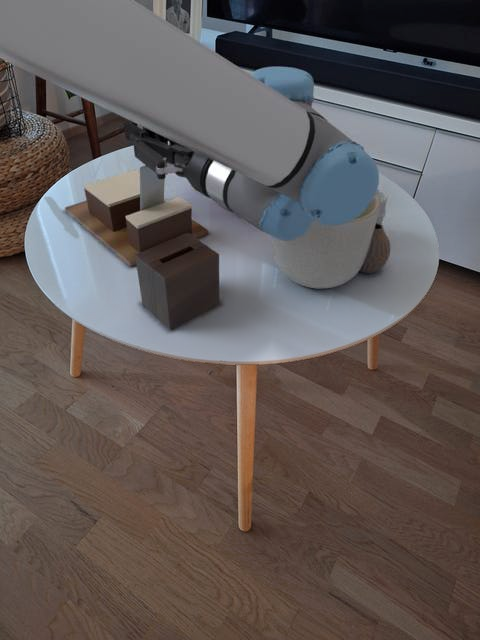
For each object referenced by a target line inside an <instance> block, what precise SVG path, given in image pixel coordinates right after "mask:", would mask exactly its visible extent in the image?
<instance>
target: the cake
mask: <svg viewBox="0 0 480 640" xmlns="http://www.w3.org/2000/svg"><path fill="white" fill-rule="evenodd" d="M83 189H84V195H85V201H86V200H87V204H88V209H89V212H90V213H91V214H92V215H93V216H95V217H96V218H97V219H98V220H100V221H101V222H102V223H103V224H104V225H106V226H107V227H108V228H109V229H111V230H112V231H113V232H115V231H117V230H120V229H123V228H125V227H127V224H126V216H127V215H130V214H133V213H136V212H139V211H140V171H138V170H136V169H132V170H128V171H126V172H122V173H119V174H116V175H113V176H109V177H107V178H104V179H99V180H97V181H94V182H90V183H86V184H83Z"/></svg>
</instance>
